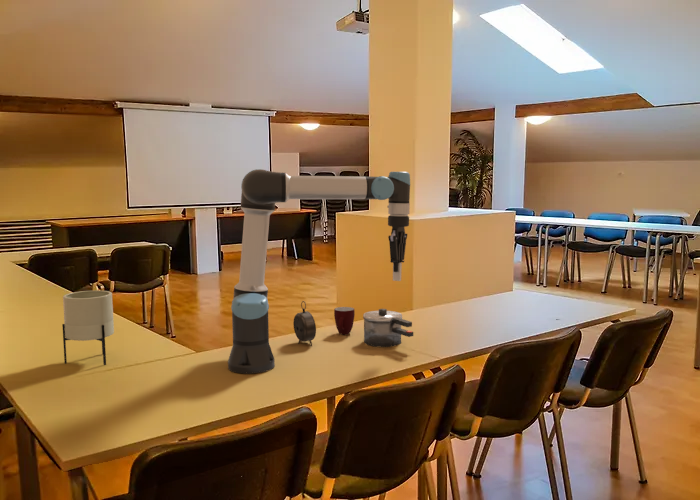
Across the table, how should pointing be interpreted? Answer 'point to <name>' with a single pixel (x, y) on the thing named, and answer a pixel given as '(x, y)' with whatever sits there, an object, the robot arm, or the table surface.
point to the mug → (344, 319)
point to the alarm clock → (304, 326)
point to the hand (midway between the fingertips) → (396, 280)
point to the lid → (386, 317)
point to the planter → (88, 317)
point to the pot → (383, 334)
